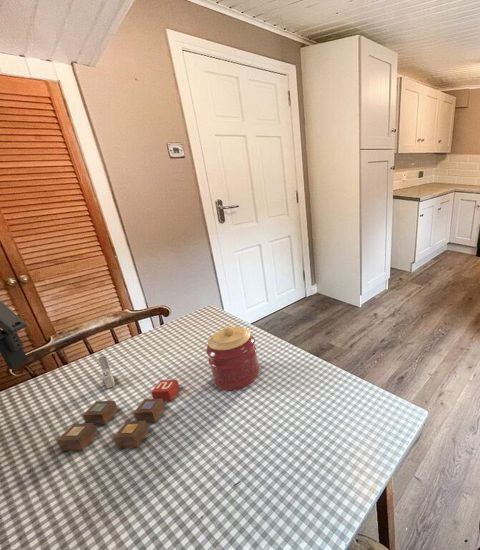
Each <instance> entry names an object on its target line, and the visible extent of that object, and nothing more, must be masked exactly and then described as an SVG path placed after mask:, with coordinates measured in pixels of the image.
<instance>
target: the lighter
mask: <svg viewBox="0 0 480 550" xmlns="http://www.w3.org/2000/svg"><path fill="white" fill-rule="evenodd" d="M97 360H98V362H99V365H100V369H101V372H102V379H103V382H104V384H105V387H106V389H110V388H114V387H115V385H116V384H115V378H114V375H113V373H112V371H111V366H110V362H109V360H108V357H107V355H102V356H98V359H97Z"/></svg>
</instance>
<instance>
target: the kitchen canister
mask: <svg viewBox="0 0 480 550" xmlns="http://www.w3.org/2000/svg"><path fill="white" fill-rule="evenodd" d="M255 343H256V340H255V337H254V335H253V334H251V331H250V329H248V328H245V327H241V326H229V325H228V326H226V327H224V328H221V329H219V330H218V331H216V332H215V333H214V334H212V335H211V336H210V337H209V338H208V341H207V347H206V350H205V352H206V355H207V356H208V364H209V366H210V370H211V374H212V381H213V383H214V385H215V387H216V388H218V389H219V390H222V391H226V392H227V391H228V392H229V391H231V392H232V391H237V390H241V389H244V388H246V387H247V386H250V384H252V383H253V382H255V381H256V379H258V377H259V374H260V364H259V361H258V354H257V347H256V345H255Z"/></svg>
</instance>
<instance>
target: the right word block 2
mask: <svg viewBox="0 0 480 550" xmlns="http://www.w3.org/2000/svg"><path fill="white" fill-rule="evenodd" d="M164 402H165V401H163V399H154V398H144V399H143V400H142V401H141V403H140V404H139V405H138V406H137V407H136V409H135V410H134V411H133V415H134V419H135V421H145V420H146V423H147V424H148V423H149V424H150V423H157V421H158V420H159V419H160V417H161V416H162V415H163V413H164V411H165V410H166V406H165V405H166V404H165V403H164Z"/></svg>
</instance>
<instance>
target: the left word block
mask: <svg viewBox="0 0 480 550" xmlns="http://www.w3.org/2000/svg"><path fill="white" fill-rule="evenodd" d="M118 412H119V408H118V406H117V404H116V401H115V400H100V401H99V400H97V401H95V402H94V403H93V404H92V405H91V406H90V407H89V408H88V409H87V410H86V411H84V413H83V414H82V415H81V416H82V418H83V420H84V423H93V424H94V426H106V425H107V424H108V423H109V422H110V421H111V420H112V418H114V416H115V415H116V414H117V413H118Z"/></svg>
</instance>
